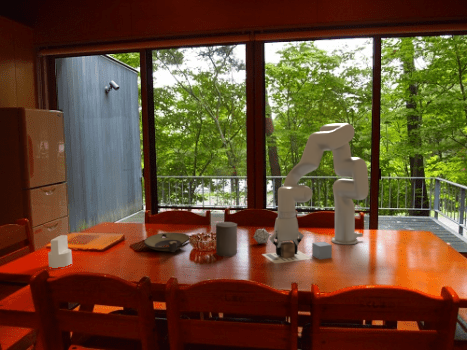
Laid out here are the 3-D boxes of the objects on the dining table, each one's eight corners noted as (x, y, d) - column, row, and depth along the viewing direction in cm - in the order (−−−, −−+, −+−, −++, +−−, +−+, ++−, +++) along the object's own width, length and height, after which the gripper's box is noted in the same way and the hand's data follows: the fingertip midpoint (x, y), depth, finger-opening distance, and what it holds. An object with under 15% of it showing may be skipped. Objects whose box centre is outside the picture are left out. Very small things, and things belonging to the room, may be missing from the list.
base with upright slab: (55, 262, 167) (53, 235, 166) (75, 262, 167) (74, 235, 166) (44, 269, 158) (43, 240, 157) (66, 268, 158) (64, 240, 157)
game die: (264, 252, 189) (269, 239, 183) (248, 245, 191) (252, 232, 184) (269, 239, 196) (274, 226, 190) (254, 233, 198) (258, 220, 191)
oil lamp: (194, 241, 197) (193, 227, 197) (185, 259, 167) (185, 242, 167) (151, 242, 198) (150, 227, 197) (135, 260, 168) (134, 243, 167)
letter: (297, 250, 178) (297, 250, 178) (313, 259, 165) (313, 258, 165) (261, 254, 172) (261, 254, 172) (274, 263, 159) (274, 263, 159)
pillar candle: (212, 255, 173) (212, 222, 171) (220, 249, 182) (220, 218, 180) (233, 257, 169) (232, 224, 168) (240, 251, 178) (240, 219, 177)
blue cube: (324, 254, 171) (324, 241, 171) (331, 258, 165) (331, 244, 165) (312, 256, 169) (312, 242, 169) (319, 260, 164) (319, 246, 163)
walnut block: (289, 254, 172) (289, 241, 171) (294, 257, 167) (294, 243, 166) (279, 255, 170) (279, 242, 170) (284, 258, 165) (284, 245, 165)
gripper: (300, 211, 173) (300, 250, 175) (264, 214, 168) (265, 254, 169) (308, 214, 166) (308, 254, 168) (271, 218, 161) (272, 259, 162)
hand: (286, 254), depth 168 cm, fingers open, 7 cm apart
